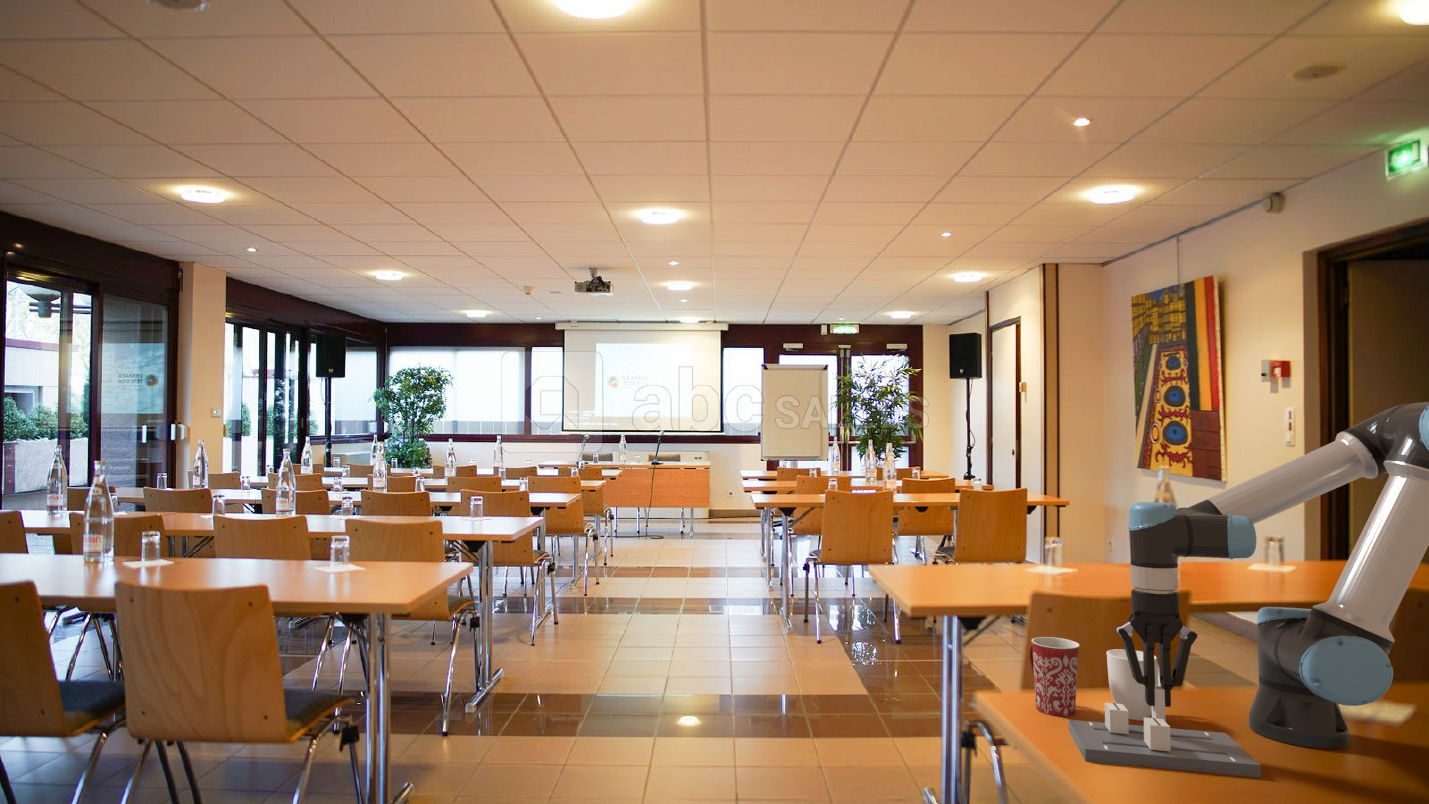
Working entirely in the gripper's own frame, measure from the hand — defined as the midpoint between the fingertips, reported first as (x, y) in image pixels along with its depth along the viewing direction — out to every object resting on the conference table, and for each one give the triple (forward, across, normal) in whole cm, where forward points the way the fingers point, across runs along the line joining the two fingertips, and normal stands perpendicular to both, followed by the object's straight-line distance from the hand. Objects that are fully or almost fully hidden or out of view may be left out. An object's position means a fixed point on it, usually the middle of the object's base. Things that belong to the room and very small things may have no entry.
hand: (1158, 724), depth 144 cm
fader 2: (+2, +2, +7) cm, 7 cm away
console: (+4, +1, +4) cm, 5 cm away
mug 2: (+4, -1, -18) cm, 18 cm away
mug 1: (+4, +15, -18) cm, 23 cm away
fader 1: (+1, +7, 0) cm, 7 cm away
